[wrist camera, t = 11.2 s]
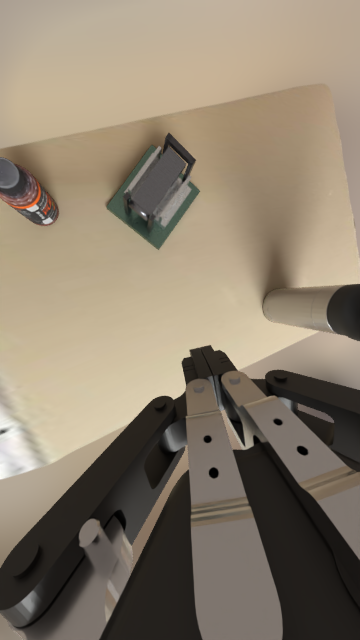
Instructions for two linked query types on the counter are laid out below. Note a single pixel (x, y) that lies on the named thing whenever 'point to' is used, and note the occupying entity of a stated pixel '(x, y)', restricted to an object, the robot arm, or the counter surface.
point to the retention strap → (157, 184)
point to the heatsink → (170, 205)
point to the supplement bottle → (26, 194)
